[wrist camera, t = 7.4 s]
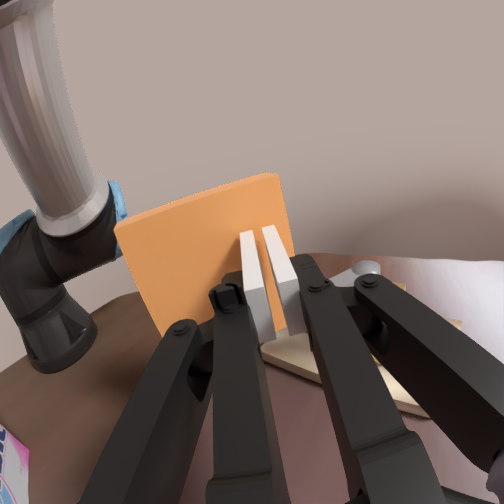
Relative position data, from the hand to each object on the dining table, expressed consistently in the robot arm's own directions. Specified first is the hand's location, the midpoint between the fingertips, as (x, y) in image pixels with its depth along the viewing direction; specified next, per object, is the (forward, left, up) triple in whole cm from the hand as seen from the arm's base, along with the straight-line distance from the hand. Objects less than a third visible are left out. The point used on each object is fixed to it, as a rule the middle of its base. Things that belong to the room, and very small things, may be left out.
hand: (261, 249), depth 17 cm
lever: (-1, +2, -7) cm, 7 cm away
